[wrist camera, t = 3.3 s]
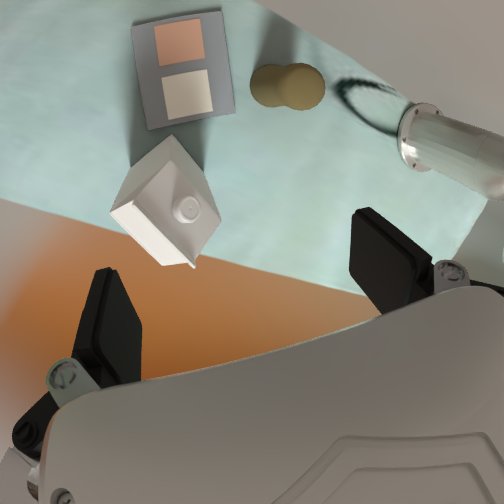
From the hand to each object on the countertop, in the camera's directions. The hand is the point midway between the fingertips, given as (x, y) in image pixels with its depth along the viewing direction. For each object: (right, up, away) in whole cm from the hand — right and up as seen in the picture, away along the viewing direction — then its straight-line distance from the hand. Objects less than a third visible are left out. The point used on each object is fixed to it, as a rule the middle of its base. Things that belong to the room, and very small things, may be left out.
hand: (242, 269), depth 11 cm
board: (-8, +23, +20) cm, 31 cm away
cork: (+3, +22, +24) cm, 33 cm away
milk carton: (-11, +11, +26) cm, 31 cm away
